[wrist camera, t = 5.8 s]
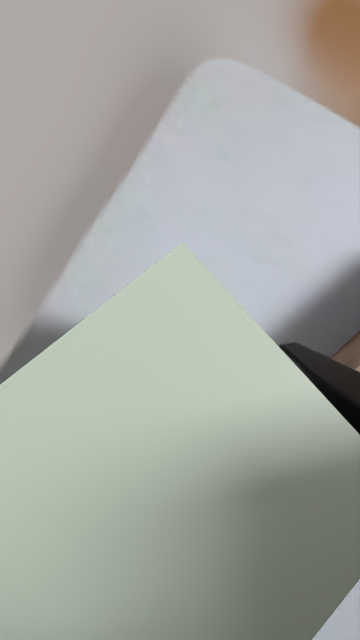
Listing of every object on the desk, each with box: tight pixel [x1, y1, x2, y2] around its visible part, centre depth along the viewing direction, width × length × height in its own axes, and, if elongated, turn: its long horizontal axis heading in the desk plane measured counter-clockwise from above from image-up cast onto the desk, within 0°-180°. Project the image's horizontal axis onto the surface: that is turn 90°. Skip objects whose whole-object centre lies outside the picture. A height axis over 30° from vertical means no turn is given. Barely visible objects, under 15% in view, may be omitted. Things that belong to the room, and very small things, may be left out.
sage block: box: [0, 242, 360, 640], centre depth 9 cm, size 5×5×10 cm
